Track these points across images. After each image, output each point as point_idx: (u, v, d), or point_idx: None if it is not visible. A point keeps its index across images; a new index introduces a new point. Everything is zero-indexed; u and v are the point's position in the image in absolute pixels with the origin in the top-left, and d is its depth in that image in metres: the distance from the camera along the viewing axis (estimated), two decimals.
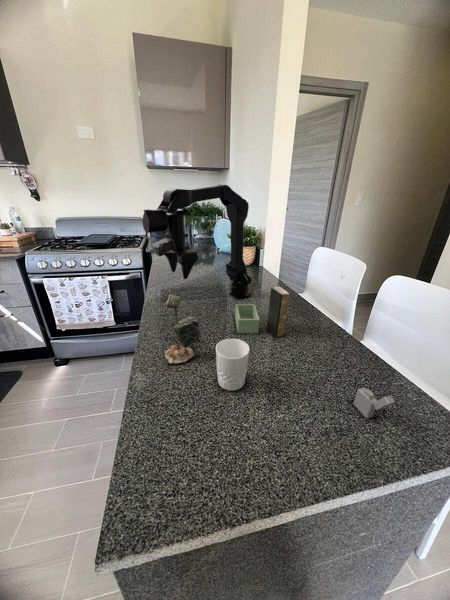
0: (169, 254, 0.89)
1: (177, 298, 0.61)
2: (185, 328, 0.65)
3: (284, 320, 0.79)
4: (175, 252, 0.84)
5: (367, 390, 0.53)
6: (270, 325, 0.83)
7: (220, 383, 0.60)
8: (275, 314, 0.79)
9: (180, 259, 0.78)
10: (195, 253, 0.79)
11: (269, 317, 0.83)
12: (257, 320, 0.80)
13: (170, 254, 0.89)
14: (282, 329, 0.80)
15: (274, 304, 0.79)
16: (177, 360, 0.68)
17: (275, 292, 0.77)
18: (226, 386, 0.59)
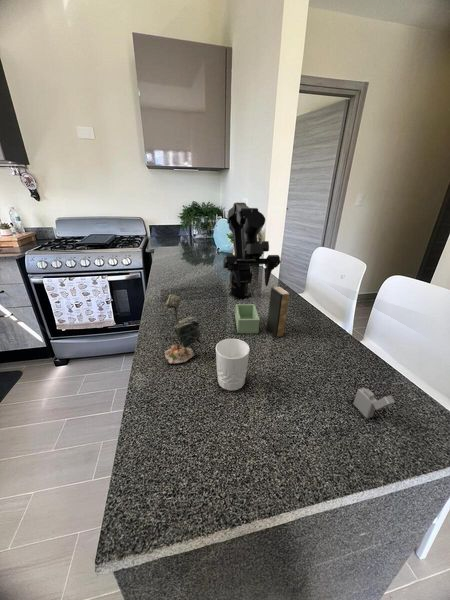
0: None
1: (177, 298, 0.61)
2: (185, 328, 0.65)
3: (284, 320, 0.79)
4: (255, 260, 0.83)
5: (367, 390, 0.53)
6: (270, 325, 0.83)
7: (220, 383, 0.60)
8: (275, 314, 0.79)
9: (277, 259, 0.82)
10: None
11: (269, 317, 0.83)
12: (257, 320, 0.80)
13: None
14: (282, 329, 0.80)
15: (274, 304, 0.79)
16: (177, 360, 0.68)
17: (275, 292, 0.77)
18: (226, 386, 0.59)
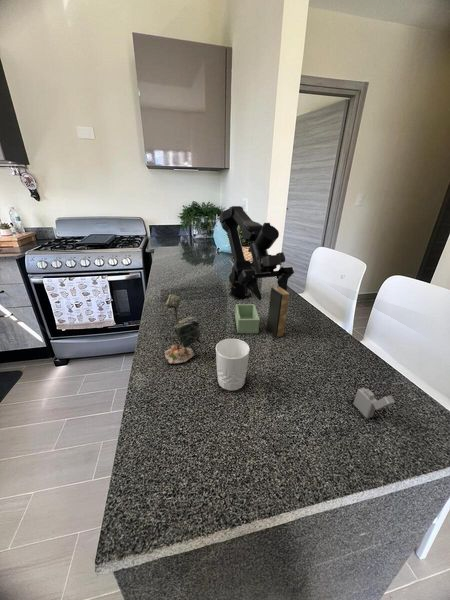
0: None
1: (177, 298, 0.61)
2: (185, 328, 0.65)
3: (284, 320, 0.79)
4: (270, 272, 0.84)
5: (367, 390, 0.53)
6: (270, 325, 0.83)
7: (220, 383, 0.60)
8: (275, 314, 0.79)
9: (291, 269, 0.84)
10: None
11: (269, 317, 0.83)
12: (257, 320, 0.80)
13: None
14: (282, 329, 0.80)
15: (274, 304, 0.79)
16: (177, 360, 0.68)
17: (275, 292, 0.77)
18: (226, 386, 0.59)
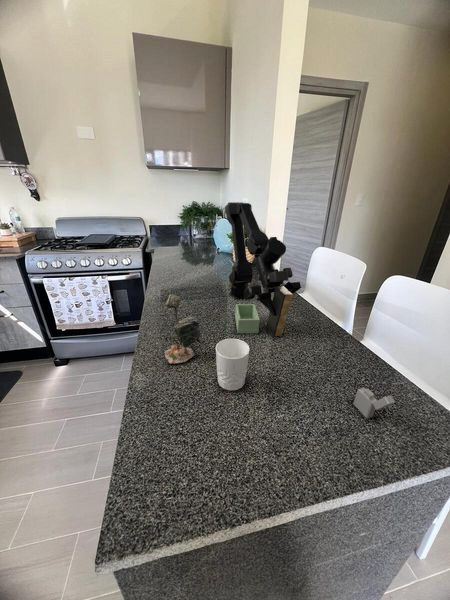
0: None
1: (177, 298, 0.61)
2: (185, 328, 0.65)
3: (284, 320, 0.79)
4: (284, 286, 0.82)
5: (367, 390, 0.53)
6: (269, 324, 0.83)
7: (220, 383, 0.60)
8: (276, 313, 0.79)
9: (298, 284, 0.81)
10: None
11: (270, 316, 0.83)
12: (257, 320, 0.80)
13: None
14: (281, 329, 0.80)
15: (276, 303, 0.78)
16: (177, 360, 0.68)
17: (278, 292, 0.77)
18: (226, 386, 0.59)
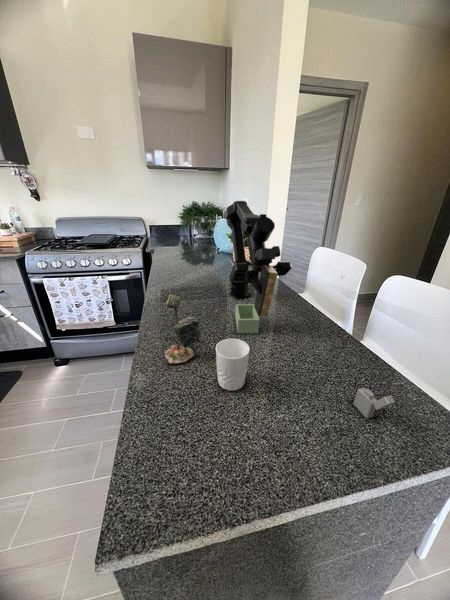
0: None
1: (177, 298, 0.61)
2: (185, 328, 0.65)
3: (269, 300, 0.77)
4: (273, 266, 0.80)
5: (367, 390, 0.53)
6: (256, 304, 0.82)
7: (220, 383, 0.60)
8: None
9: (287, 265, 0.79)
10: None
11: (257, 296, 0.82)
12: (257, 320, 0.80)
13: None
14: (266, 309, 0.79)
15: (262, 282, 0.77)
16: (177, 360, 0.68)
17: (264, 270, 0.76)
18: (226, 386, 0.59)
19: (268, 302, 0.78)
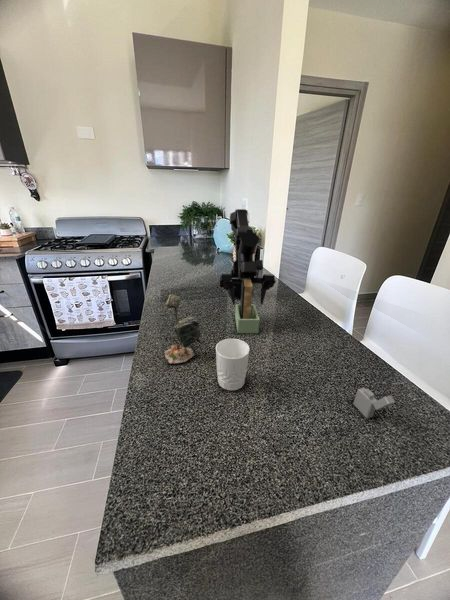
0: None
1: (177, 298, 0.61)
2: (185, 328, 0.65)
3: (249, 312, 0.82)
4: None
5: (367, 390, 0.53)
6: (240, 315, 0.87)
7: (220, 383, 0.60)
8: (241, 305, 0.83)
9: (271, 278, 0.83)
10: None
11: (240, 308, 0.87)
12: (257, 320, 0.80)
13: None
14: None
15: (241, 295, 0.83)
16: (177, 360, 0.68)
17: (242, 284, 0.81)
18: (226, 386, 0.59)
19: (248, 314, 0.82)
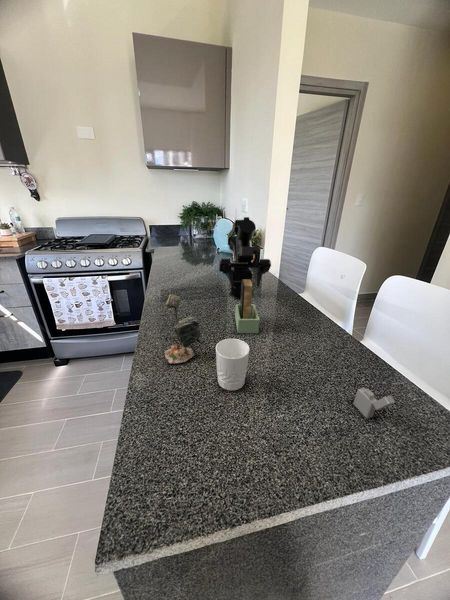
0: None
1: (177, 298, 0.61)
2: (185, 328, 0.65)
3: (249, 312, 0.82)
4: (247, 263, 0.91)
5: (367, 390, 0.53)
6: (240, 315, 0.87)
7: (220, 383, 0.60)
8: (241, 305, 0.83)
9: (267, 262, 0.90)
10: None
11: (240, 308, 0.87)
12: (257, 320, 0.80)
13: None
14: None
15: (241, 295, 0.83)
16: (177, 360, 0.68)
17: None
18: (226, 386, 0.59)
19: (248, 313, 0.83)
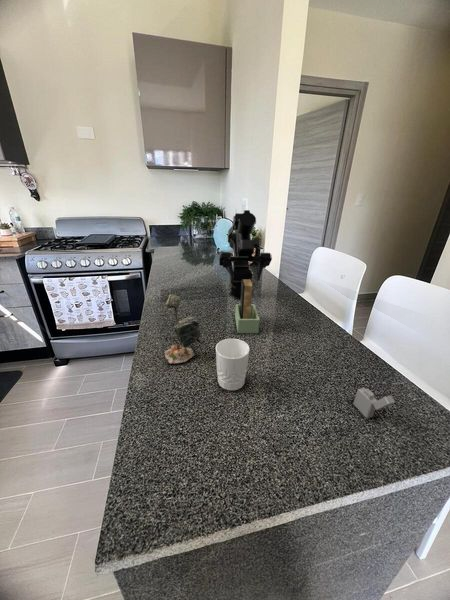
0: None
1: (177, 298, 0.61)
2: (185, 328, 0.65)
3: (249, 312, 0.82)
4: (248, 257, 0.90)
5: (367, 390, 0.53)
6: (240, 315, 0.87)
7: (220, 383, 0.60)
8: (241, 305, 0.83)
9: (268, 256, 0.89)
10: None
11: (240, 308, 0.87)
12: (257, 320, 0.80)
13: None
14: None
15: (241, 295, 0.83)
16: (177, 360, 0.68)
17: None
18: (226, 386, 0.59)
19: (248, 313, 0.83)
